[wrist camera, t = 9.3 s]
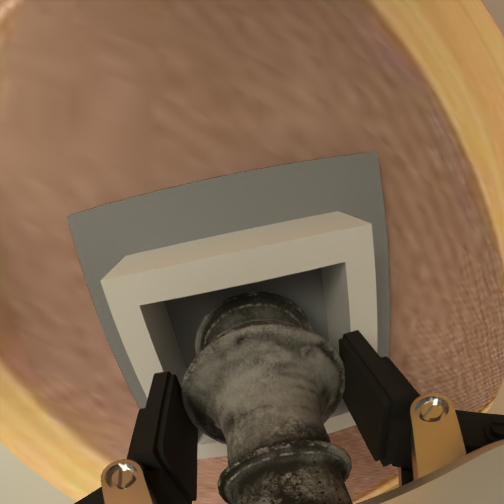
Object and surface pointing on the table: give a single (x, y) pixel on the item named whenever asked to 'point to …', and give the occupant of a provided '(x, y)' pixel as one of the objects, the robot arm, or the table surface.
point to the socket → (238, 262)
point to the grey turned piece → (268, 401)
